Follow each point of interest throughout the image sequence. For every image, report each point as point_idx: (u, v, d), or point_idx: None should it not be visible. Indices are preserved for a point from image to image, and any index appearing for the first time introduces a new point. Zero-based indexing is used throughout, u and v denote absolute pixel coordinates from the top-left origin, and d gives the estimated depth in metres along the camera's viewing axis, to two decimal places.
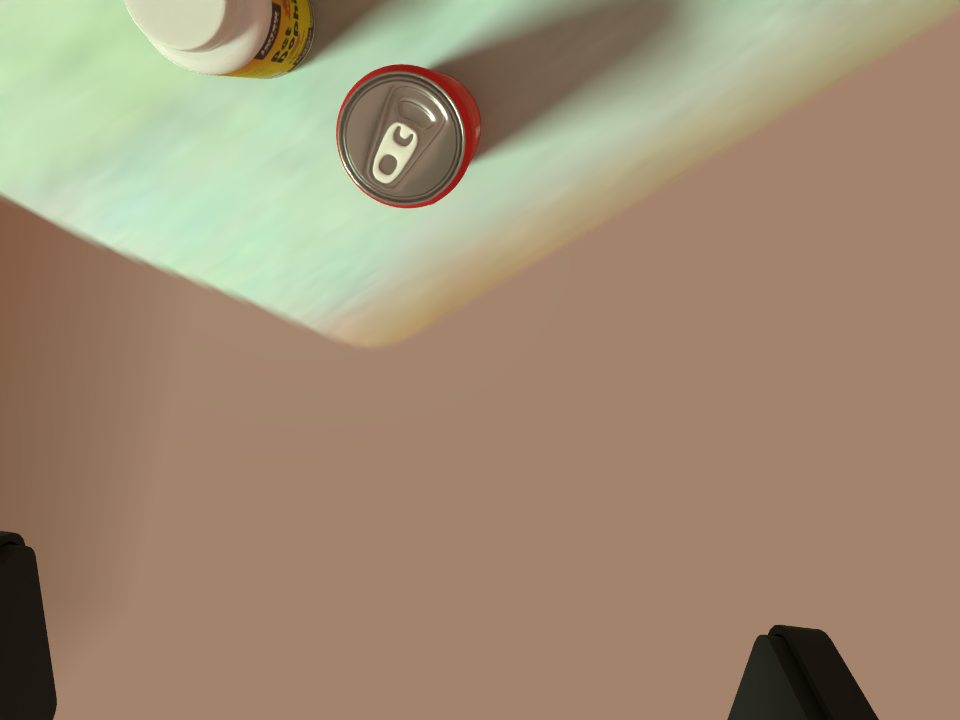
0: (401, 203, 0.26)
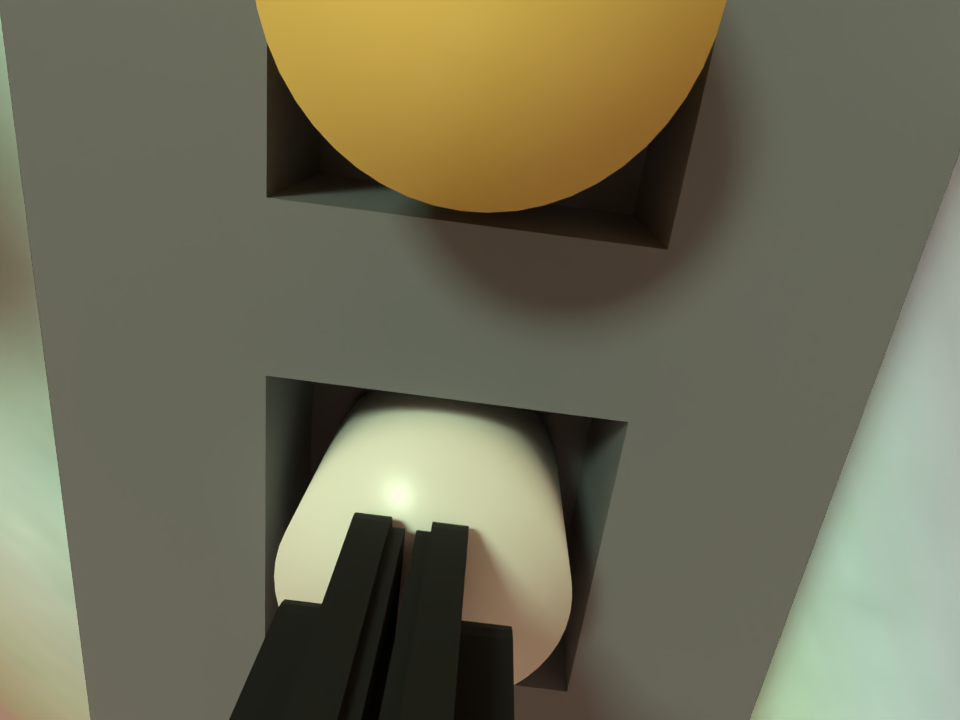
0: None
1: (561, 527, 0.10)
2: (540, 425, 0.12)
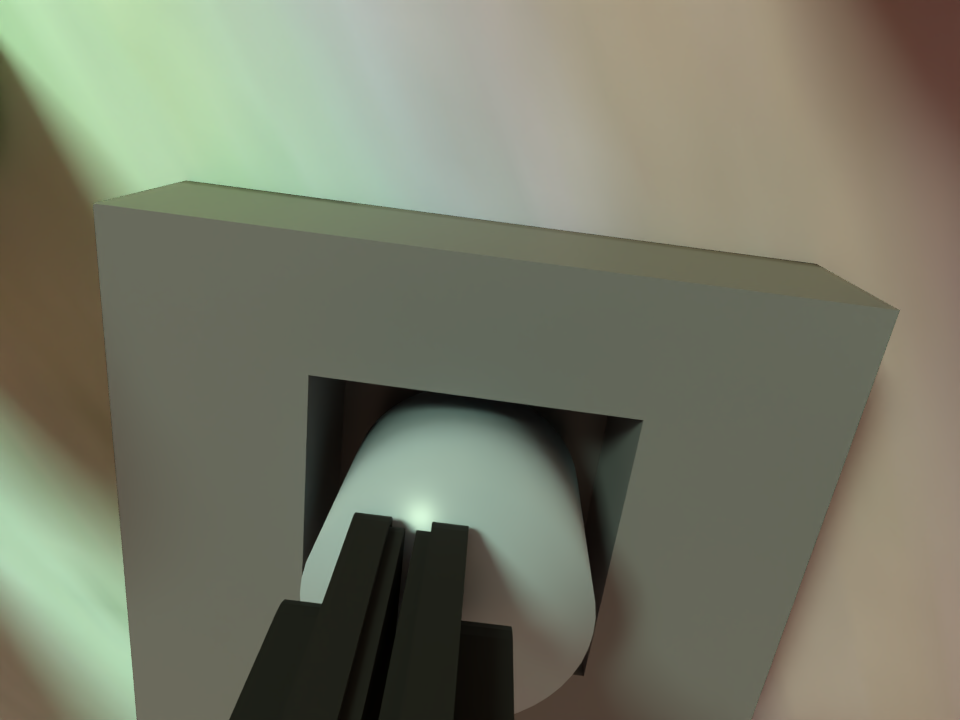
0: None
1: None
2: None
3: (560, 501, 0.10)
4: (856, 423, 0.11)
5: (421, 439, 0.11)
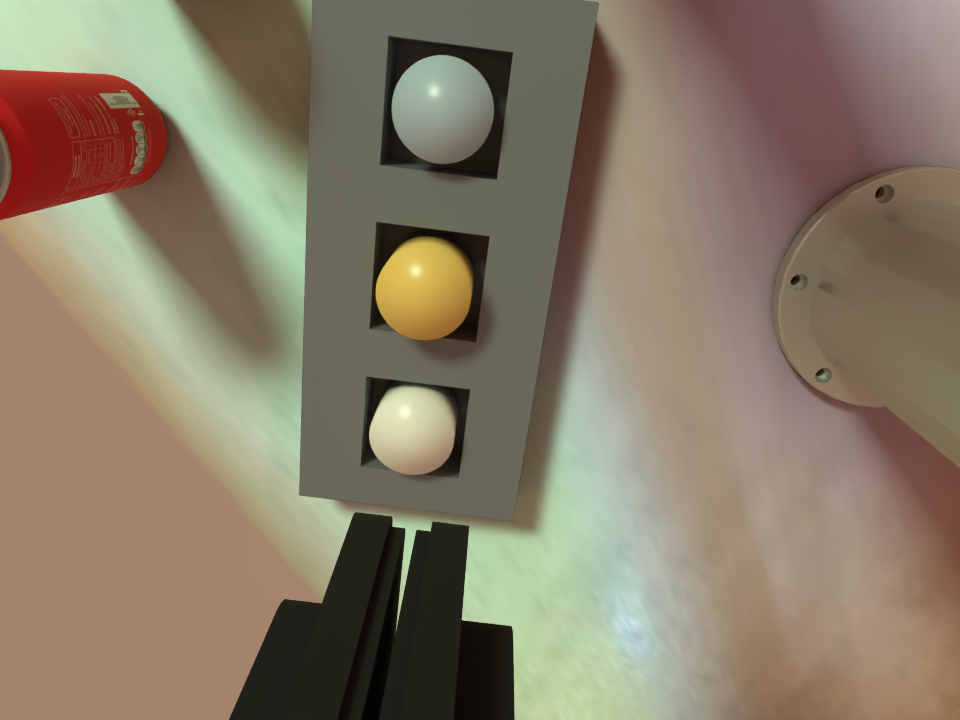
0: None
1: (452, 419, 0.35)
2: (450, 391, 0.38)
3: None
4: (589, 50, 0.29)
5: None
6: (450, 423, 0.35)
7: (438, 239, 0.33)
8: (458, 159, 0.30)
